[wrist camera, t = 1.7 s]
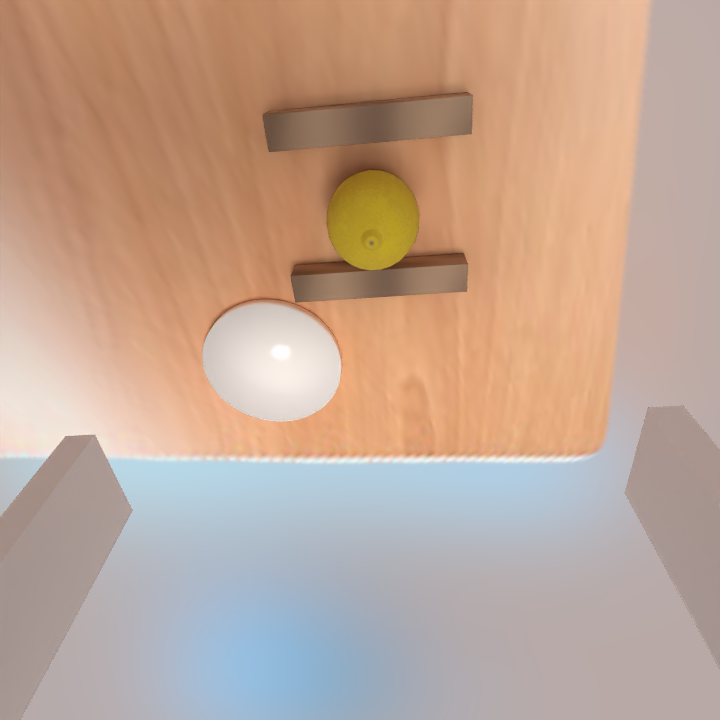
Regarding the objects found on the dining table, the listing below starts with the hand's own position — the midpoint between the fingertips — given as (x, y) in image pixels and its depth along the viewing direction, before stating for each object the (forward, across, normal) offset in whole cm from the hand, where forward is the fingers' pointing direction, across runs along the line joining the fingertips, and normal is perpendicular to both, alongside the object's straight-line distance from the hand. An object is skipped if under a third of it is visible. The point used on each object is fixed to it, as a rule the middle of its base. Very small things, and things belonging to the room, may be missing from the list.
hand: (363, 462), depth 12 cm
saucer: (+25, -9, -12) cm, 29 cm away
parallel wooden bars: (+25, 0, 0) cm, 25 cm away
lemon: (+25, 0, 0) cm, 25 cm away
